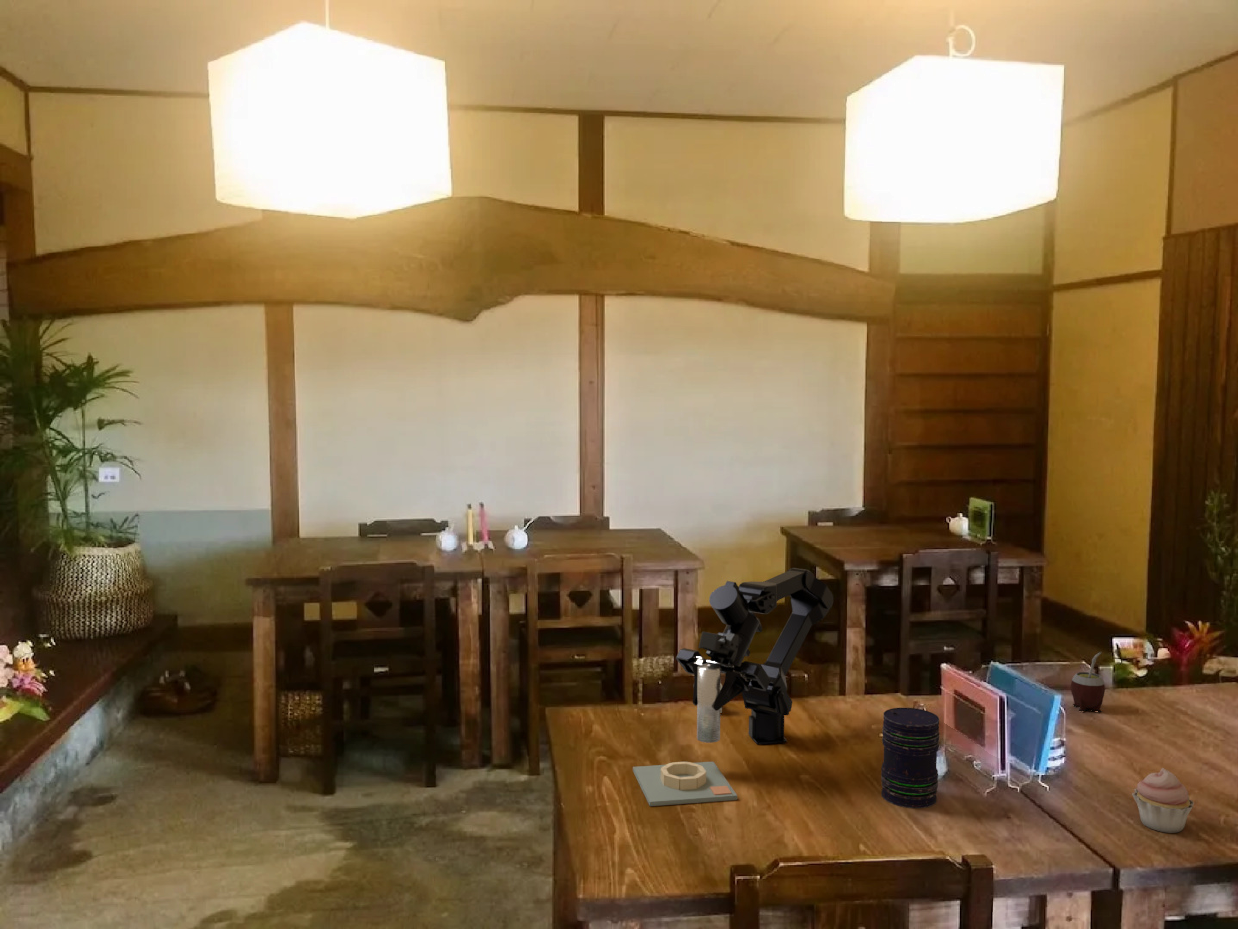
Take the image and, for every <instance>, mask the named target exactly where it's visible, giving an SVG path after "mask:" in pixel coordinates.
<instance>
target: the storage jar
mask: <svg viewBox="0 0 1238 929" xmlns="http://www.w3.org/2000/svg"><path fill="white" fill-rule="evenodd" d="M882 716H883V722H882V723H883V724H882V725H883V726H882V733H881V735H882V738H881V740H882V746H883V762H882V764H881V773H880V775H881V777H880V781H881V788H882V789H881V790H880V791H881V794H880V795H881V797H882V798H883V800H885V801H886V802H888V803H890V804H892V805H894V806H898V807H902V808H908V809H925V808H929V807H932V806H934V805H935V804H936V803H937V800H938V798H937V797H938V796H937V792H938V786H939V770H938V768H937V764H938V763H937V761H938V760H937V758H938V751H939V749H940V748H939V747H940V742H939V741H940V727H939V726H940V717H939V716H938V715H936V714H935V713H933V712H931V711H929V710H925V709H920V708H915V707H894V708H889V709H887V710H885V711H884V712H883V715H882Z"/></svg>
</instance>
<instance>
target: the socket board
mask: <svg viewBox="0 0 1238 929" xmlns="http://www.w3.org/2000/svg"><path fill="white" fill-rule="evenodd" d="M632 772H633V773H634V774H633V775H634V776H635V778H636V780H637V782H638V785H639V786H640V789H641V791H642V793H643V795H644V797H645V799H646V802H647V804H648V806H649V807H660V806H671V805H682V804H683V805H684V804H699V803H711V802H712V803H713V802H723V801H737V800H738V795H737V793H736V791H735V790H734V789H733V787H732V785H731V784H730V783H729V781H728V780H727V779H726V777H725V776H724V774H723V773H722V772H721V770H720V769H719V768H718V766H717V764H716V763H715V761H702V762H701V761H700V762H690V761H677V762H676V761H674V762H669V763H667V764H658V765H657V764H656V765H642V766H641V765H640V766H632Z"/></svg>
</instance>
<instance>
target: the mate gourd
mask: <svg viewBox="0 0 1238 929" xmlns="http://www.w3.org/2000/svg"><path fill="white" fill-rule="evenodd" d="M1101 654H1102V651H1100V652H1098V653H1096V654H1095V655H1094V656H1093V657H1092V659H1091V665H1090V669H1089V671H1080V672H1076V673H1075V674H1074V675H1073V676H1072V679H1071V683H1070V691H1071V695H1072V699H1073V704H1072V706H1073V705H1074V706H1076V707H1075V708H1077V707H1080V708H1079V710H1078V712H1079V711H1085V712H1087V711H1089V710H1092V711H1091V712H1093V711H1098V712H1101V713H1102V710H1101V707H1102V705H1103V702H1104V696H1105V692H1106V687H1105V681H1104V679H1103V677H1102V676H1101V675H1100V674H1097V673H1093V671H1094V668H1095V664H1096V662H1097V659H1098V657H1099V656H1100V655H1101ZM1086 710H1087V711H1086Z"/></svg>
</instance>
